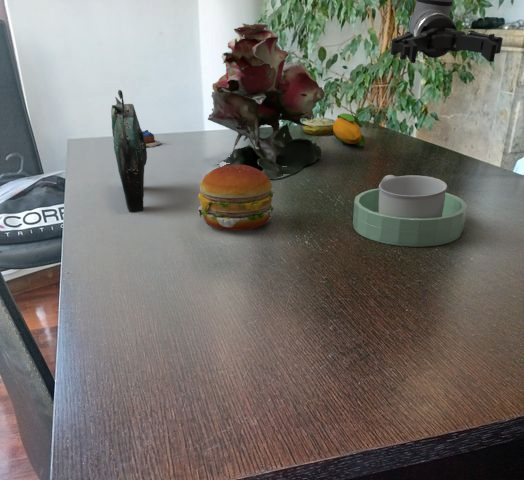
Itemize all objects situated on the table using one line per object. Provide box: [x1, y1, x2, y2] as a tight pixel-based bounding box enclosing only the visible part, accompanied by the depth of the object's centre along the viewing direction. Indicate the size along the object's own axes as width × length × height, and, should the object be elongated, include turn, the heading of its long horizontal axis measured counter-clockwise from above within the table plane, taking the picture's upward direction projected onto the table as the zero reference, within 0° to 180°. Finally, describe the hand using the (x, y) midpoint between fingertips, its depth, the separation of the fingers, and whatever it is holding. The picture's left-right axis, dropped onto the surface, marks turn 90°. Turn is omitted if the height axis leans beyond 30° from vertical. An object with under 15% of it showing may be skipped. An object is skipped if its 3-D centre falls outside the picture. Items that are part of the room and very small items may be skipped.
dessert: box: [142, 129, 162, 148], centre depth 159 cm, size 8×7×6 cm
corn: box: [332, 112, 366, 147], centre depth 155 cm, size 7×8×20 cm
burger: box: [197, 165, 275, 231], centre depth 100 cm, size 14×14×10 cm
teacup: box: [378, 174, 448, 218], centre depth 96 cm, size 14×11×8 cm
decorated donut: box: [301, 117, 336, 136], centre depth 171 cm, size 10×11×4 cm
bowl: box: [352, 187, 468, 248], centre depth 98 cm, size 19×19×4 cm
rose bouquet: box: [207, 22, 326, 180], centre depth 133 cm, size 26×29×30 cm
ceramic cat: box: [110, 89, 148, 213], centre depth 111 cm, size 20×6×20 cm, turn 12°
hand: (453, 53), depth 101 cm, fingers open, 13 cm apart
